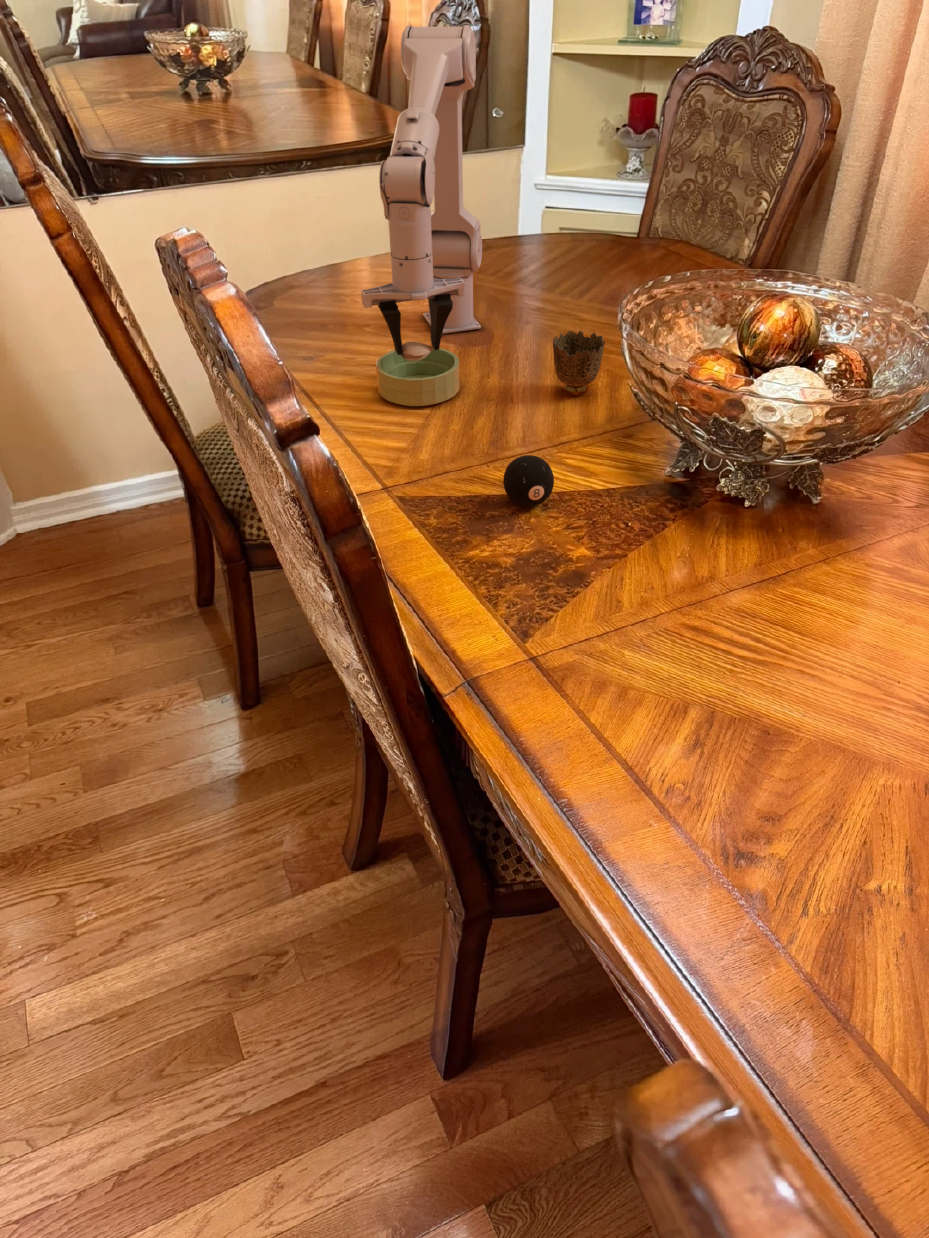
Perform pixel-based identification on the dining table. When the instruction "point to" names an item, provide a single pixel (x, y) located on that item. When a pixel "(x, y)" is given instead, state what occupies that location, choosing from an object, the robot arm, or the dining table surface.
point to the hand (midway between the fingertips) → (416, 349)
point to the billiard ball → (528, 480)
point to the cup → (577, 360)
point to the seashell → (415, 351)
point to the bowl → (418, 378)
